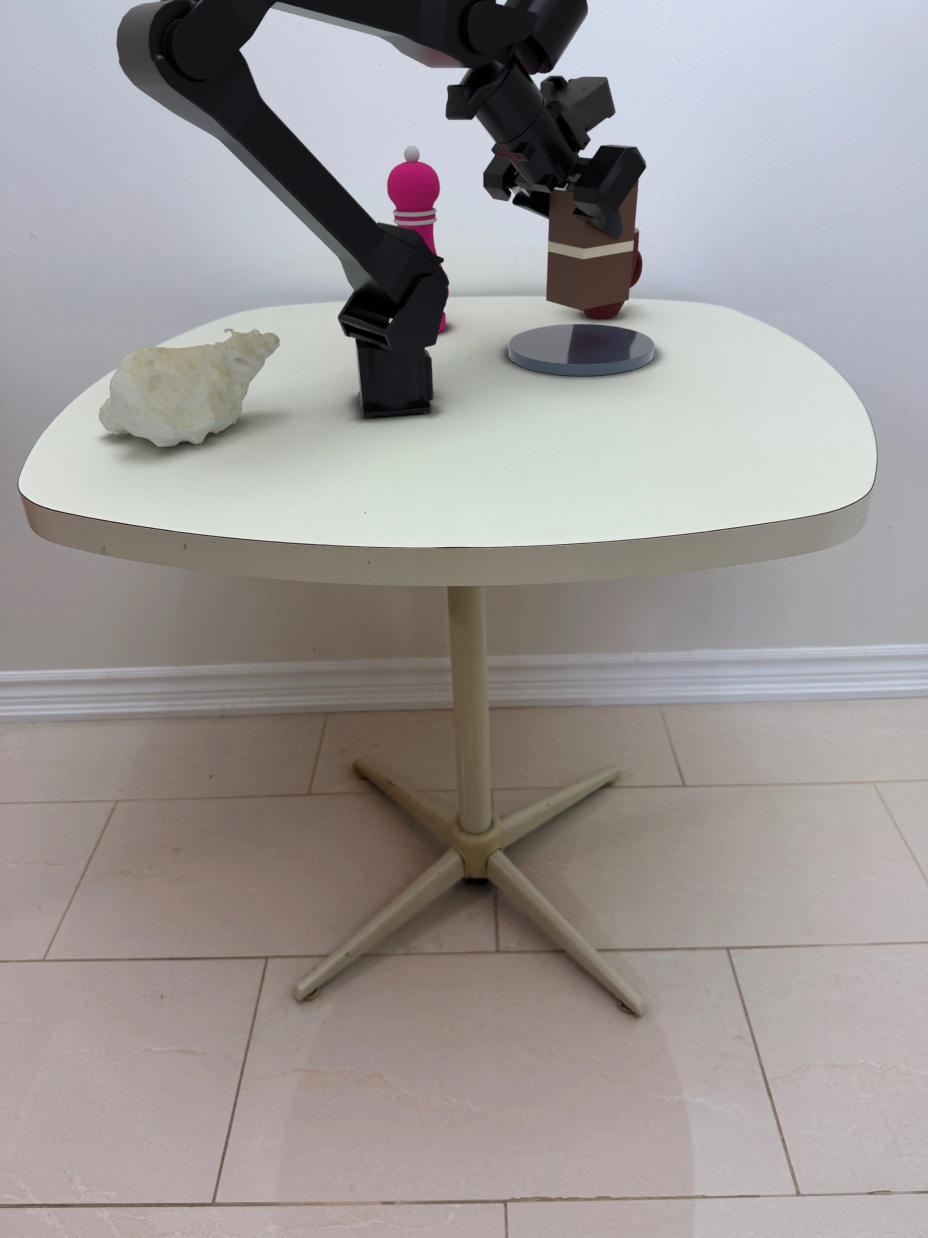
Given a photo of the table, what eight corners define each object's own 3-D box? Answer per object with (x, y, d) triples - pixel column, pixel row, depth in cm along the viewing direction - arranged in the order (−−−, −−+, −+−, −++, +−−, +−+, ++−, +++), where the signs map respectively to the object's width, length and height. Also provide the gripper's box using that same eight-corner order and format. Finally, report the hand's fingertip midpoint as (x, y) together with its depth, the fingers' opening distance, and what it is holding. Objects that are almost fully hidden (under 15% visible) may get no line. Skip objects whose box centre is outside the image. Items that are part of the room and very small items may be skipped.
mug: (606, 300, 120) (610, 219, 114) (657, 310, 115) (664, 225, 110) (555, 316, 113) (558, 231, 108) (607, 327, 109) (612, 238, 103)
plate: (526, 381, 92) (526, 369, 92) (495, 339, 106) (495, 329, 105) (675, 369, 94) (676, 357, 94) (626, 329, 108) (627, 319, 107)
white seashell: (93, 489, 77) (196, 388, 69) (54, 415, 77) (152, 307, 70) (218, 477, 90) (316, 391, 83) (184, 414, 91) (278, 323, 83)
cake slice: (580, 310, 93) (587, 182, 86) (545, 300, 97) (550, 176, 90) (628, 300, 96) (639, 176, 90) (593, 290, 100) (601, 171, 94)
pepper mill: (461, 325, 111) (456, 143, 100) (428, 339, 106) (419, 149, 95) (413, 318, 115) (403, 141, 104) (379, 332, 109) (365, 147, 99)
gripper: (639, 39, 75) (713, 173, 87) (505, 43, 88) (585, 160, 100) (564, 152, 76) (647, 271, 87) (442, 139, 89) (528, 244, 100)
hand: (600, 232), depth 93 cm, fingers closed on cake slice, 5 cm apart
